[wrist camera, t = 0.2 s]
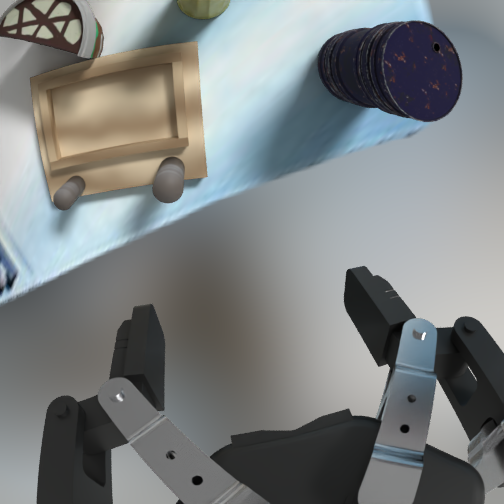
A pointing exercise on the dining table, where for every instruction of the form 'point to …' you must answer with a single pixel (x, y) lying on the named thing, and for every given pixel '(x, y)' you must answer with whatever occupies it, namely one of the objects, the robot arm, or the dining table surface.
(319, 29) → the dining table surface
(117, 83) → the carrier board
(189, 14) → the vase
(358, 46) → the storage jar
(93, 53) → the half lattice cake
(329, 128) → the dining table surface
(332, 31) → the dining table surface
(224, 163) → the dining table surface
